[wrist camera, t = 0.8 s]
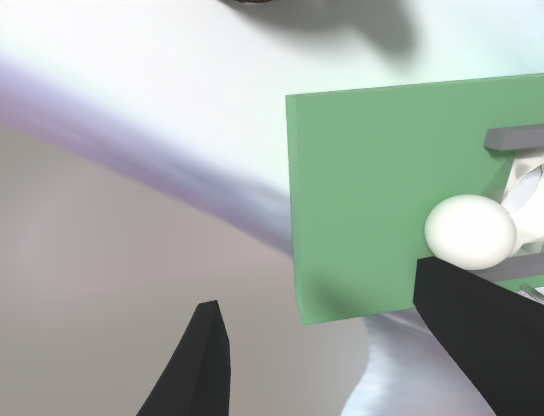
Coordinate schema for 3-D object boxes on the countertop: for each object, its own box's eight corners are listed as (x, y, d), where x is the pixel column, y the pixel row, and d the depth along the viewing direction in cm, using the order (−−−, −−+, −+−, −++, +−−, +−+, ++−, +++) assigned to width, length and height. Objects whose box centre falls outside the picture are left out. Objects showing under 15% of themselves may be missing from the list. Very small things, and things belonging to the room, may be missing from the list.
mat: (631, 65, 19) (732, 61, 15) (548, 258, 26) (603, 289, 22) (285, 95, 17) (301, 99, 13) (295, 297, 23) (307, 339, 20)
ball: (480, 180, 17) (553, 209, 14) (464, 239, 19) (524, 280, 15) (414, 188, 17) (470, 220, 13) (405, 247, 19) (451, 291, 15)
